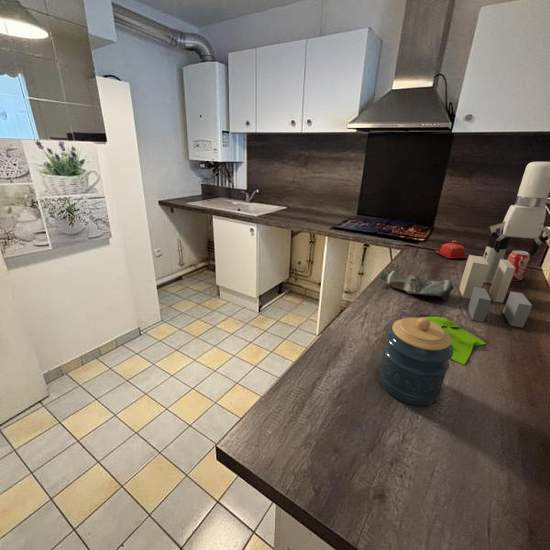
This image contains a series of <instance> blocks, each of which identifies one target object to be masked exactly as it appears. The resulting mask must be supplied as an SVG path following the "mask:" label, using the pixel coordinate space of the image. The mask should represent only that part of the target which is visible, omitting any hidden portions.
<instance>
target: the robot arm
mask: <svg viewBox="0 0 550 550" xmlns="http://www.w3.org/2000/svg"><path fill="white" fill-rule="evenodd" d="M549 195H550V161H531V162H529V163H528V164H527V165H526V167H525V170H524V172H523V176H522V179H521V182H520V185H519V188H518V192H517V195H516V198H515V201H514V205H513V204H511V205H510V206H509V208H508V210H507V211H506V214H505V216H504V219H503V221H502V222H500V223H496V224H494V225H490V226H489V230H490V235H491V234H492V235H493V236H494V238H495V239H496V240H495V244H494V247H493V249H494V250H495V251H496V252H499V250H500V247H501V244H502V241H501V240H502V239H503V238H505V237H506V236H509V237H511V238H521V239H531V240H532V242H531V243H530V246H529V248H528V251H527V252H528V254H529V256H530V257H534V255H535V254H537V252H538V249H539V248H540V247H539V246H540V245H542V244H543V243H545V242H547V241H549V239H550V228H548V227H546V226H544V224H545V221H546V220H545V219H546V214H547V208H546V205H550V199H549V198H548V197H549ZM498 229H500V232H499V233H500V234H498V235H497V233H498V232H497V230H498ZM542 232H544V233H545V234H544V235H542V236H541V234H542Z"/></svg>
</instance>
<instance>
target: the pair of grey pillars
mask: <svg viewBox="0 0 550 550" xmlns="http://www.w3.org/2000/svg"><path fill="white" fill-rule="evenodd" d="M491 303H492V298H491V296H490V294H489V292H488V291H487V289H486V288H483V287H482V288H478V287H474V289H473V292H472V295H471V299H469V302H468V306H467V310H468V313H469V315H470V319H471V321H475V322H480V323H484V322H485V320H486V317H487V314H488V311H489V308H490V306H491ZM532 307H533V305H532V303H531V302H530V301H529V299H528V298H527V297H526V295H524V293H523V292H517V291H510V292H509V294H508V297H507V300H506V303H505V306H504V308H503V311H502V313H503V315H504V316H505V318H506V320H507V322H508V324H509V325H510V326H511V327H517V328H520V329H521V328H522V329H523V328H524V326H525V324H526V322H527V320H528V317H529V315H530V313H531V309H532Z"/></svg>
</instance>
